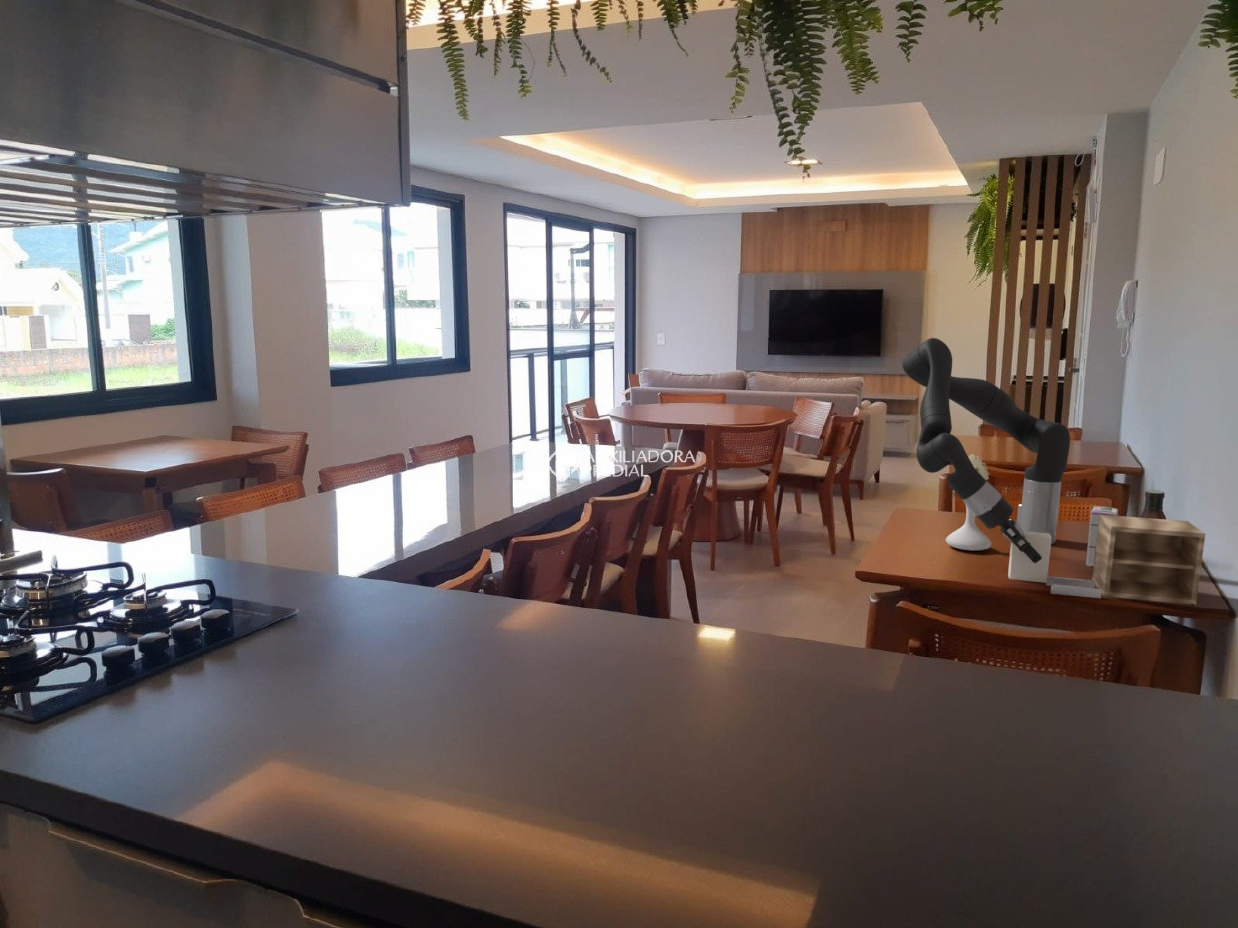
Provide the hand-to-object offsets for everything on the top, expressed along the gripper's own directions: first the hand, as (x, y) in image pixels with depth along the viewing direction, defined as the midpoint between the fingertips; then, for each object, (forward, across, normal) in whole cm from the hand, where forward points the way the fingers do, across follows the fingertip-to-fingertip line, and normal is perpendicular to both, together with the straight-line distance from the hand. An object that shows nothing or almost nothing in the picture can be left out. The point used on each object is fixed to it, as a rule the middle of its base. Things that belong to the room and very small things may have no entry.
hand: (1035, 555), depth 207 cm
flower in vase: (-5, -26, -13) cm, 29 cm away
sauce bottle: (+24, -18, +16) cm, 34 cm away
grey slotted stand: (+9, +7, +1) cm, 12 cm away
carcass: (+20, +2, +12) cm, 23 cm away
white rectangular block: (+3, 0, -5) cm, 6 cm away
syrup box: (+17, -19, +8) cm, 27 cm away
